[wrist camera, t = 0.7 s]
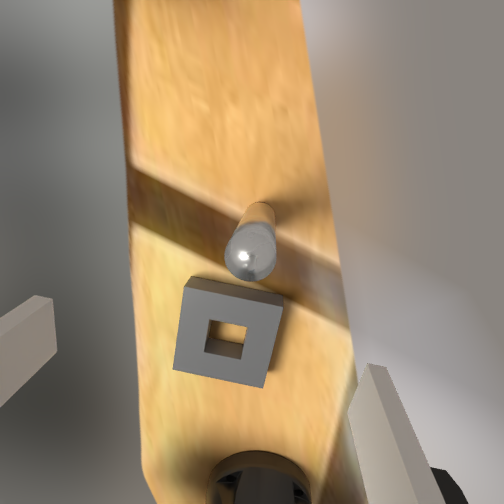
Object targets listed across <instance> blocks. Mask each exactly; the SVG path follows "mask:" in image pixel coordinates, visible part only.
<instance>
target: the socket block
mask: <svg viewBox="0 0 504 504" xmlns="http://www.w3.org/2000/svg"><path fill="white" fill-rule="evenodd" d="M282 311H283V295H279V294H274V293H269V292H264V291H259V290H255V289H250V288H245V287H240V286H235V285H231V284H226V283H221V282H216V281H211V280H207V279H202V278H197V277H192V276H191V277H190V279H189V280H188V282H187V283H186V285H185V286H184V291H183V298H182V305H181V313H180V320H179V327H178V334H177V342H176V349H175V356H174V363H173V370H177V371H182V372H187V373H192V374H196V375H201V376H206V377H211V378H215V379H220V380H225V381H230V382H234V383H239V384H244V385H249V386H253V387H258V388H263V386H264V382H265V378H266V374H267V370H268V367H269V363H270V359H271V355H272V351H273V347H274V343H275V339H276V335H277V331H278V327H279V323H280V319H281V315H282ZM212 320H216V321H221V322H225V323H230V324H235V325H240V326H244V327H247V330H246V334H245V339H244V344H243V345H242V344H237V343H232V342H228V341H223V340H218V339H213V338H209V334H210V328H211V323H212Z"/></svg>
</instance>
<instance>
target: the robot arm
mask: <svg viewBox="0 0 504 504" xmlns="http://www.w3.org/2000/svg"><path fill="white" fill-rule="evenodd" d="M56 352H57V344H56V332H55V321H54V310H53V300H52V299H50V298H45V297H41V296H36V295H34V296H33V297H31V298H30V299H28V300H27V301H25V302H24V303H22V304H21V305H19V306H18V307H16V308H15V309H13V310H12V311H10V312H9V313H7V314H6V315H4V316H3V317H1V318H0V407H1V406H2V405H3V404H4V403H5V402H6V401H7V400H8V399H9V398H10V397H11V396H12V395H13V394H14V393H15V392H16V391H17V390H18V389H19V388H20V387H21V386H23V385H24V383H25V382H27V381H28V380H29V379H30V377H32V376H33V375H34V374H35V373H36V372H37V371H38V370H39V369H40V368H41V367H42V366H43V365H44V364H45V363H46V362H47V361H48V360H49V359H50V358H51V357H52V356H53V355H54V354H55V353H56ZM348 417H349V421H350V425H351V430H352V434H353V438H354V443H355V447H356V451H357V456H358V460H359V464H360V469H361V473H362V477H363V482H364V486H365V490H366V495H367V499H368V503H369V504H468V502H467V500H466V498H465V496H464V494H463V492H462V490H461V489H460V487H459V486H458V485H457V484H456V482H455V481H454V480H453V479H452V477H451V476H450V475H449V474H448V472H447V471H446V470H442V469H437V468H432V467H430V466H429V464H428V462H427V460H426V457H425V455H424V453H423V450H422V448H421V446H420V444H419V441H418V439H417V437H416V434H415V432H414V430H413V428H412V425H411V423H410V421H409V418H408V416H407V414H406V412H405V409H404V407H403V405H402V402H401V400H400V398H399V396H398V393H397V391H396V389H395V386H394V384H393V382H392V380H391V377H390V375H389V373H388V370H387V368H386V367H383V366H378V365H373V364H368V363H367V365H366V368H365V370H364V373H363V375H362V377H361V380H360V382H359V385H358V387H357V390H356V392H355V394H354V397H353V399H352V402H351V404H350V407H349V409H348ZM206 504H312V502H311V492H310V485H309V482H308V480H307V478H306V476H305V474H304V473H303V472H302V471H301V469H300V468H299V467H297V466H296V465H295V464H294V463H292V462H291V461H289V460H287V459H285V458H283V457H281V456H278V455H275V454H272V453H267V452H259V451H251V452H242V453H238V454H235V455H232V456H230V457H228V458H226V459H224V460H223V461H221V462H220V463H219V464H218V465H217V466H216V467H215V468H214V469H213V471H212V472H211V474H210V477H209V481H208V486H207V491H206Z"/></svg>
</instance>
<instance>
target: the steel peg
mask: <svg viewBox="0 0 504 504" xmlns="http://www.w3.org/2000/svg"><path fill="white" fill-rule="evenodd" d="M225 263H226V266H227V268H228V269H229V271H230V272H231V273H232V274H233V275H234V276H235V277H237V278H239V279H241V280H244V281H258V280H261V279H263V278H265V277H266V276H268V275H269V274H270V273H271V272H272V270H273V268H274V266H275V263H276V228H275V213H274V210H273V209H272V207H271V206H269V205H268V204H266V203H263V202H256V203H253V204H251V205H250V206H249V207H248V208H247V209H246V211H245V213H244V215H243V217H242V219H241V220H240V222H239V224H238V226H237V228H236V230H235V232H234V234H233V236H232V237H231V239H230V241H229V243H228V245H227V247H226V250H225Z"/></svg>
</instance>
